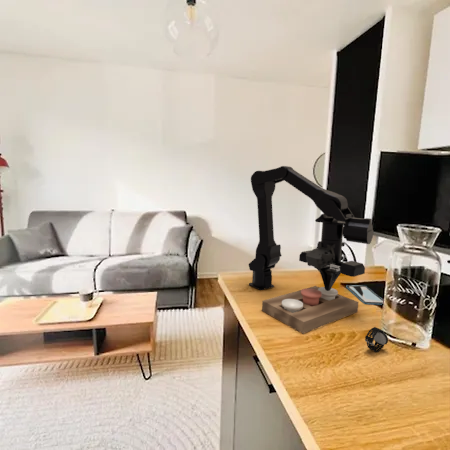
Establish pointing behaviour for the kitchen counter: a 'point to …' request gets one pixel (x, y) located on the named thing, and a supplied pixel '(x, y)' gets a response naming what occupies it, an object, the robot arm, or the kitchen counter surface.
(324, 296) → the grey plug far
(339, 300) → the socket board
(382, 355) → the kitchen counter surface
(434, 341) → the kitchen counter surface
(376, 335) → the smartwatch
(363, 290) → the smartphone
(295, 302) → the grey plug near
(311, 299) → the red plug
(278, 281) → the kitchen counter surface
